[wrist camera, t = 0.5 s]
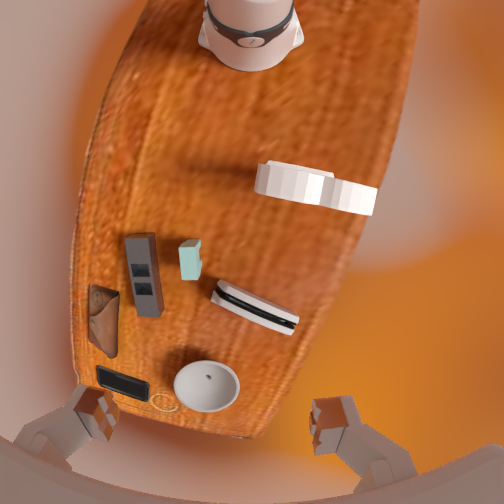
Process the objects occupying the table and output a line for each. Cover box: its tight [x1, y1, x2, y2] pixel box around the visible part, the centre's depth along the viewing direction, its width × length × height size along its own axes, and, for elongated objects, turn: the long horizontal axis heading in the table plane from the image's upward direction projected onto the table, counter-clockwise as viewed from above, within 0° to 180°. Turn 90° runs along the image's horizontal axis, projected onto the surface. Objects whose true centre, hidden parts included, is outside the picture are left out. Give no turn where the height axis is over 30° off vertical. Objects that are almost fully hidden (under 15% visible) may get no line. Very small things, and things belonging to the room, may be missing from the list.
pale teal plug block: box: [179, 239, 202, 280], centre depth 50 cm, size 6×3×6 cm, turn 1°
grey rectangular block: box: [124, 233, 165, 317], centre depth 52 cm, size 16×5×4 cm, turn 1°
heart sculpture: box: [254, 160, 377, 215], centre depth 40 cm, size 16×5×18 cm, turn 81°
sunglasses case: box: [89, 283, 120, 359], centre depth 57 cm, size 18×7×7 cm, turn 165°
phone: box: [97, 366, 150, 402], centre depth 64 cm, size 8×1×15 cm
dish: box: [174, 360, 240, 412], centre depth 60 cm, size 18×14×5 cm
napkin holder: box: [211, 279, 300, 335], centre depth 52 cm, size 17×5×10 cm, turn 63°
